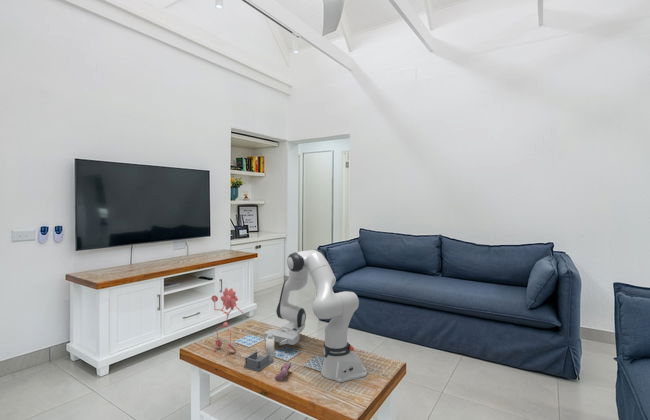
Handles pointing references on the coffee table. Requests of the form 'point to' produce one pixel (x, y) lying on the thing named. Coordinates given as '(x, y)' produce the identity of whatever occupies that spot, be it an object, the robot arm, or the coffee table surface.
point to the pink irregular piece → (283, 371)
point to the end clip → (257, 362)
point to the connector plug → (270, 345)
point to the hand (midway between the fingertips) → (273, 341)
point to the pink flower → (228, 302)
